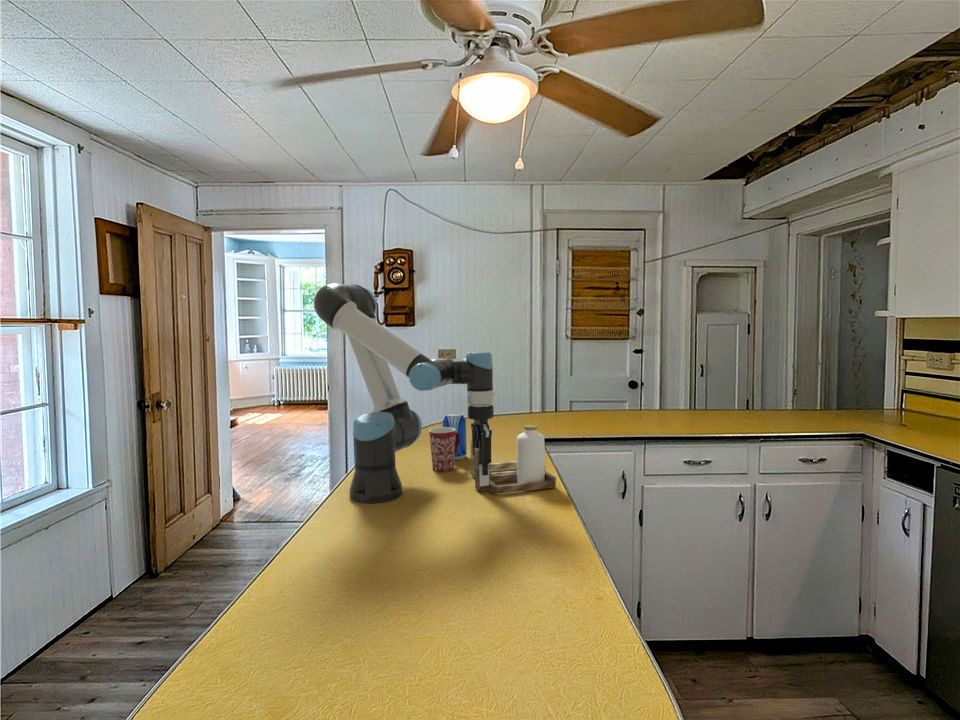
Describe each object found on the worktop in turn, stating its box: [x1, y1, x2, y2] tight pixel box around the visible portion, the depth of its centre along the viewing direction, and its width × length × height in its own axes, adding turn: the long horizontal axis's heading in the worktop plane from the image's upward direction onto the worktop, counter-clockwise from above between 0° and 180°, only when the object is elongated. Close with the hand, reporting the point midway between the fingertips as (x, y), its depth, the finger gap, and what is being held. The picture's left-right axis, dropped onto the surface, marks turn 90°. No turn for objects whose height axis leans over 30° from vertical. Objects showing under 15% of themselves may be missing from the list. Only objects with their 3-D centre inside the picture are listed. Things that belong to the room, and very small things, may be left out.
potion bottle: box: [516, 424, 546, 484], centre depth 171 cm, size 8×8×18 cm
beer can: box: [442, 412, 468, 461], centre depth 206 cm, size 8×8×16 cm
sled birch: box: [469, 437, 547, 479], centre depth 183 cm, size 22×12×12 cm, turn 106°
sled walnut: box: [474, 448, 557, 495], centre depth 169 cm, size 22×12×12 cm, turn 106°
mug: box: [428, 426, 460, 473], centre depth 192 cm, size 13×9×14 cm
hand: (482, 483), depth 167 cm, fingers closed on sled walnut, 3 cm apart
